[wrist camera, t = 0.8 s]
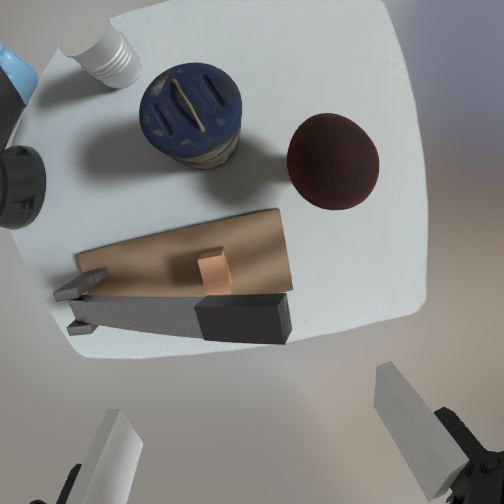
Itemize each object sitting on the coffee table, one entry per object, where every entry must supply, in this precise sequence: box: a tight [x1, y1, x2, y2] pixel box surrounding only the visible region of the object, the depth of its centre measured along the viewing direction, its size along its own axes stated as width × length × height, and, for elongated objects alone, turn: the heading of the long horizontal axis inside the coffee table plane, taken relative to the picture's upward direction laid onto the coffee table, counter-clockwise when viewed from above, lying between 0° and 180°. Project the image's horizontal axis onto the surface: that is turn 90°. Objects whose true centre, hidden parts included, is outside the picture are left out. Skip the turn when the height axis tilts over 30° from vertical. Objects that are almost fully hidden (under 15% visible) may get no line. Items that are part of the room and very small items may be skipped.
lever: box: [68, 293, 292, 345], centre depth 26 cm, size 4×29×2 cm, turn 101°
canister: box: [139, 63, 242, 170], centre depth 29 cm, size 10×10×18 cm
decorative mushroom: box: [287, 113, 379, 210], centre depth 32 cm, size 11×11×15 cm
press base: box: [53, 208, 293, 336], centre depth 36 cm, size 12×32×12 cm, turn 101°
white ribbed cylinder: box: [60, 11, 142, 89], centre depth 27 cm, size 7×7×15 cm
